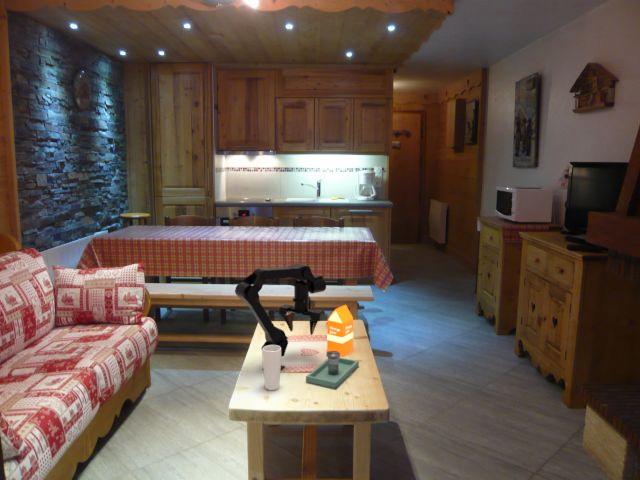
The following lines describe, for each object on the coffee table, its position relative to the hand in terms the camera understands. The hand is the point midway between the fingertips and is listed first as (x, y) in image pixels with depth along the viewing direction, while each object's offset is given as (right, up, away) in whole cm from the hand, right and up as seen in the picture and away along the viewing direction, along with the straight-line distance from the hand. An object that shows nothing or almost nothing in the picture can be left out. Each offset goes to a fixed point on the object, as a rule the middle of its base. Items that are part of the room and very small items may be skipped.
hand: (301, 332), depth 207 cm
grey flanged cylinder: (+13, -13, -11) cm, 21 cm away
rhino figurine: (+13, -5, +42) cm, 45 cm away
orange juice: (+16, -11, +12) cm, 23 cm away
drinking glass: (-10, -16, -22) cm, 29 cm away
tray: (+13, -14, -11) cm, 22 cm away
